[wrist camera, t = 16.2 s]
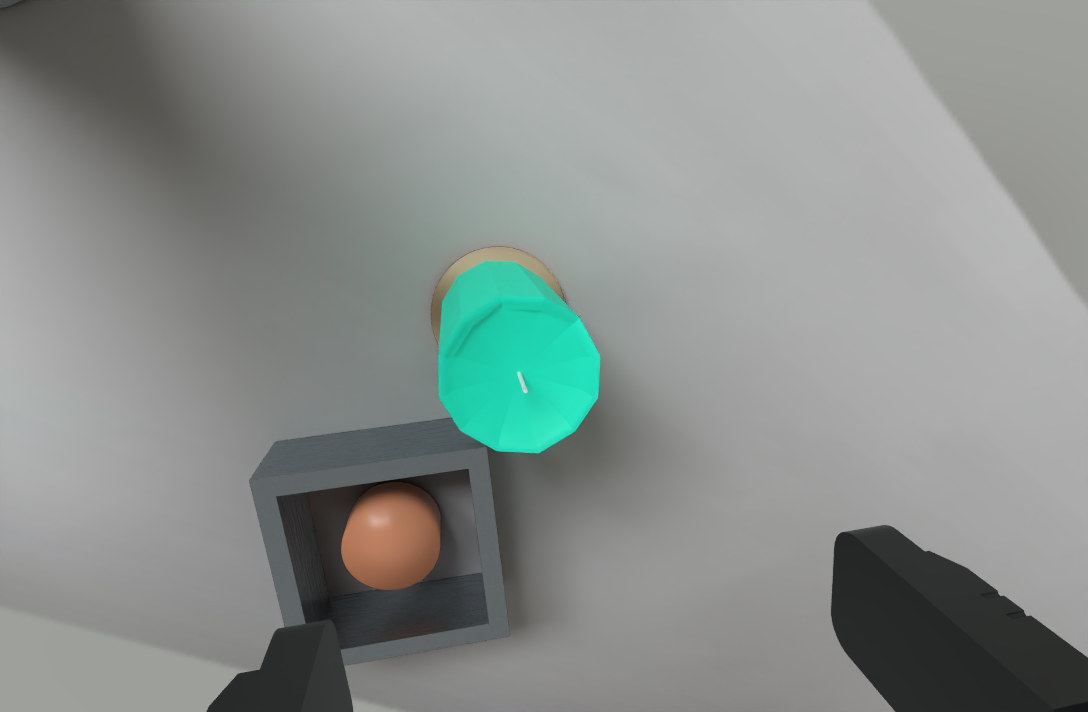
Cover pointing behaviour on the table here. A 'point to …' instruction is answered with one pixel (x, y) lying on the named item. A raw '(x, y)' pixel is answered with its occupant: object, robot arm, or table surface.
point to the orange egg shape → (392, 536)
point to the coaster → (477, 258)
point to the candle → (514, 359)
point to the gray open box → (381, 615)
